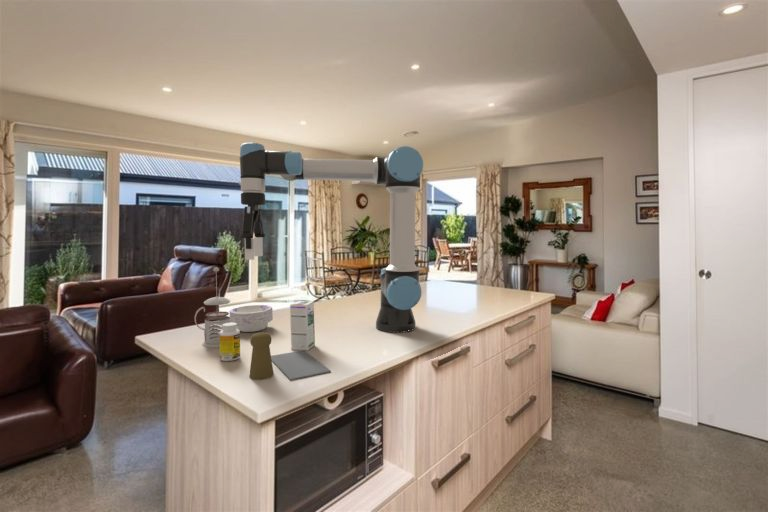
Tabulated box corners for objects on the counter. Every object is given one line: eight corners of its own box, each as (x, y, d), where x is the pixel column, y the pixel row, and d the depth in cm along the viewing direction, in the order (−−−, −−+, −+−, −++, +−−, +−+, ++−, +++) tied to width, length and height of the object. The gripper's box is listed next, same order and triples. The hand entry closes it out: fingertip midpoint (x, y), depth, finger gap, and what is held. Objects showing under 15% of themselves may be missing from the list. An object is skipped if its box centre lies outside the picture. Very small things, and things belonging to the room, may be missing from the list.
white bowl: (223, 328, 146) (223, 307, 146) (262, 322, 156) (261, 302, 156) (239, 337, 135) (239, 314, 134) (280, 329, 145) (279, 308, 144)
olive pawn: (244, 378, 98) (243, 336, 97) (256, 370, 104) (255, 329, 103) (267, 380, 97) (266, 337, 96) (277, 371, 103) (276, 330, 102)
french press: (236, 344, 126) (234, 268, 125) (196, 350, 121) (194, 269, 119) (231, 337, 135) (229, 265, 133) (194, 341, 129) (192, 266, 127)
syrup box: (308, 350, 120) (307, 304, 119) (290, 349, 122) (289, 303, 120) (315, 345, 126) (314, 301, 125) (298, 344, 127) (297, 300, 126)
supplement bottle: (236, 362, 110) (235, 326, 109) (216, 361, 110) (215, 326, 109) (243, 355, 116) (242, 321, 115) (224, 355, 116) (223, 321, 115)
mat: (268, 357, 114) (268, 356, 114) (304, 351, 120) (304, 350, 120) (290, 380, 97) (290, 379, 97) (330, 372, 103) (330, 370, 103)
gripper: (249, 195, 138) (251, 255, 140) (230, 188, 114) (232, 261, 115) (271, 195, 139) (272, 255, 141) (256, 189, 114) (258, 261, 116)
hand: (254, 257), depth 128 cm, fingers open, 13 cm apart
